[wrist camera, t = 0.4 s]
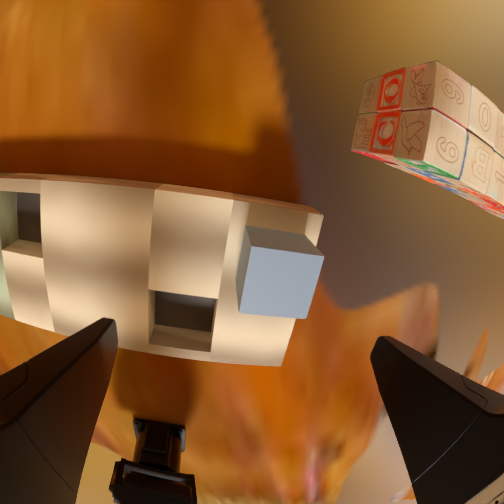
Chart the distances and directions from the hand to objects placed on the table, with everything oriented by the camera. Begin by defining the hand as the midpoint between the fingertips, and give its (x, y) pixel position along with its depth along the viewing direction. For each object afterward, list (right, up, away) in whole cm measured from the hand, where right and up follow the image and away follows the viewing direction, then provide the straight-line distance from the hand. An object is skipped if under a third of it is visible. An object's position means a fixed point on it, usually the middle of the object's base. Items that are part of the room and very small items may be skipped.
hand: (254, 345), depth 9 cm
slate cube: (+1, +3, +11) cm, 11 cm away
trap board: (-11, +2, +12) cm, 17 cm away
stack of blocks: (+18, +12, +12) cm, 25 cm away
